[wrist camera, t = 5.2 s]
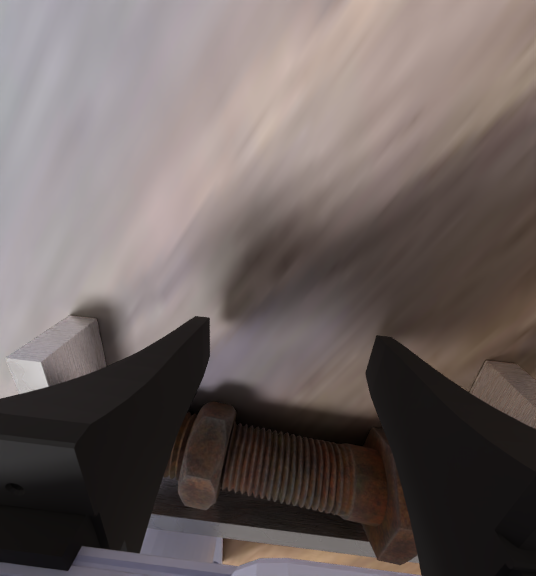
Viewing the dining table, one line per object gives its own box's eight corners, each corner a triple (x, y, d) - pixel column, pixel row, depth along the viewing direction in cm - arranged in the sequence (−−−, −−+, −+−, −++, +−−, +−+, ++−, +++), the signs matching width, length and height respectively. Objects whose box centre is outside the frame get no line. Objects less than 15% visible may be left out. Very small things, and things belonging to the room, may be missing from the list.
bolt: (162, 374, 18) (385, 421, 18) (143, 453, 17) (373, 503, 17) (110, 403, 12) (443, 473, 12) (81, 522, 12) (427, 599, 11)
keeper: (438, 499, 18) (470, 569, 15) (104, 458, 19) (67, 517, 16) (516, 363, 13) (587, 423, 10) (68, 315, 14) (4, 358, 11)
